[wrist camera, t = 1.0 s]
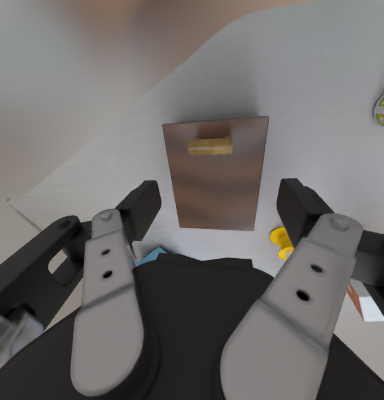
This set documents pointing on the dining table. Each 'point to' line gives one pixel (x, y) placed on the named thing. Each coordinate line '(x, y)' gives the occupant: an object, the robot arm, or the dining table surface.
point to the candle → (282, 242)
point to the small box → (363, 302)
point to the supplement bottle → (379, 111)
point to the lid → (216, 171)
